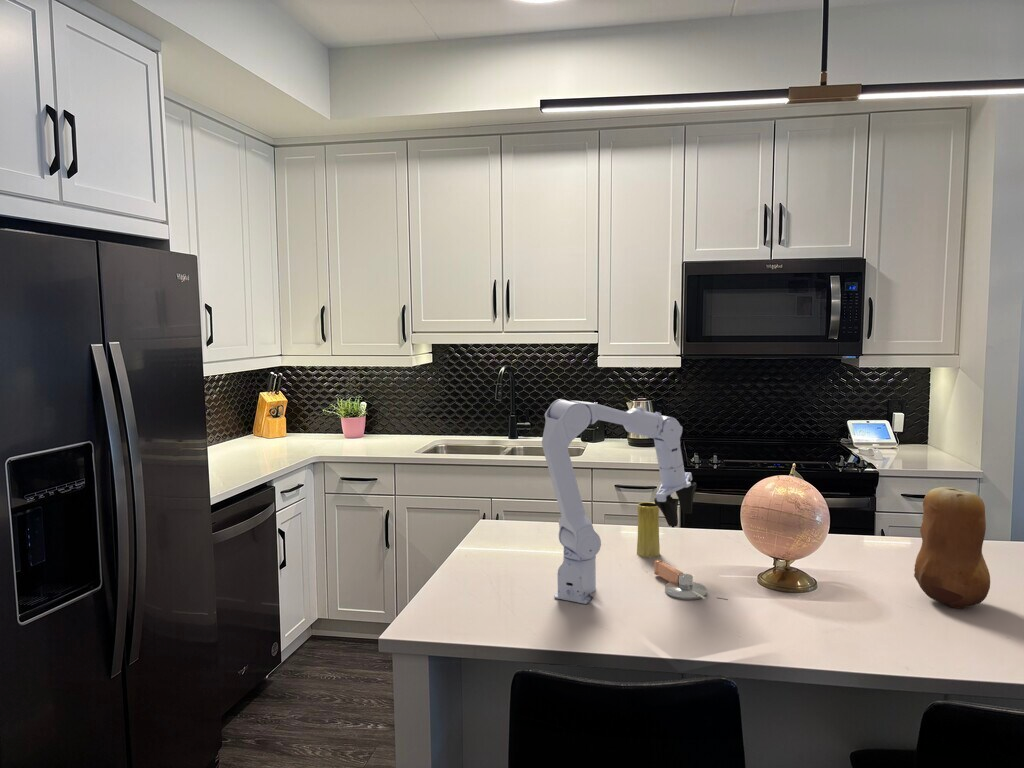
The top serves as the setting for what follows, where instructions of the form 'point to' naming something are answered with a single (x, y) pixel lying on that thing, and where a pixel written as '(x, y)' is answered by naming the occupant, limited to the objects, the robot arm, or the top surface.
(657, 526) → the vase
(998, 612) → the top surface
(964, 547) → the butternut squash
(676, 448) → the robot arm
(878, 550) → the top surface
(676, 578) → the pizza cutter
